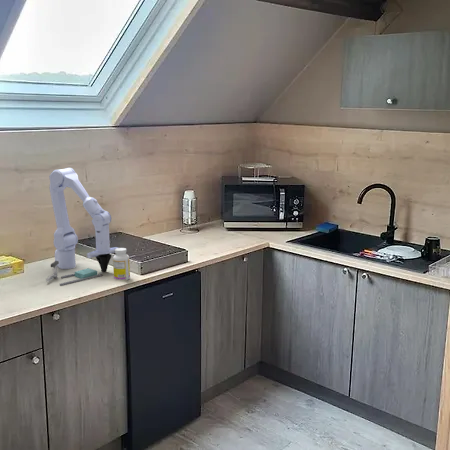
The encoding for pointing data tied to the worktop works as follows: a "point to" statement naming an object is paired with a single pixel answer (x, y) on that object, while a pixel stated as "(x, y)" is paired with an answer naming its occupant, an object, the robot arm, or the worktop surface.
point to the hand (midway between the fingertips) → (104, 271)
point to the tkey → (53, 271)
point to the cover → (85, 273)
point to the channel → (78, 279)
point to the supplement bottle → (121, 264)
